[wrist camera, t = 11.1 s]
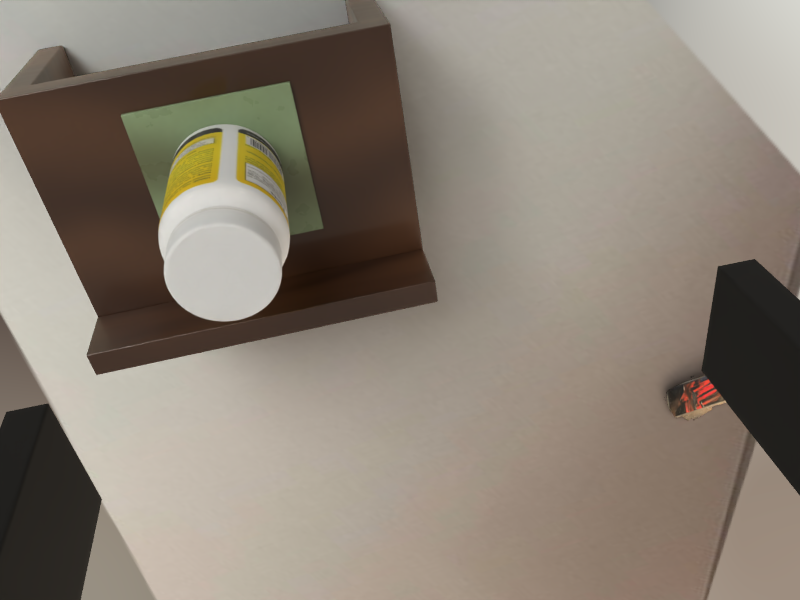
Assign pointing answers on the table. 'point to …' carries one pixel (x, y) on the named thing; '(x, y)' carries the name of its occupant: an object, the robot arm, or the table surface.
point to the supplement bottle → (224, 223)
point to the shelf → (302, 169)
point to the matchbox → (693, 398)
